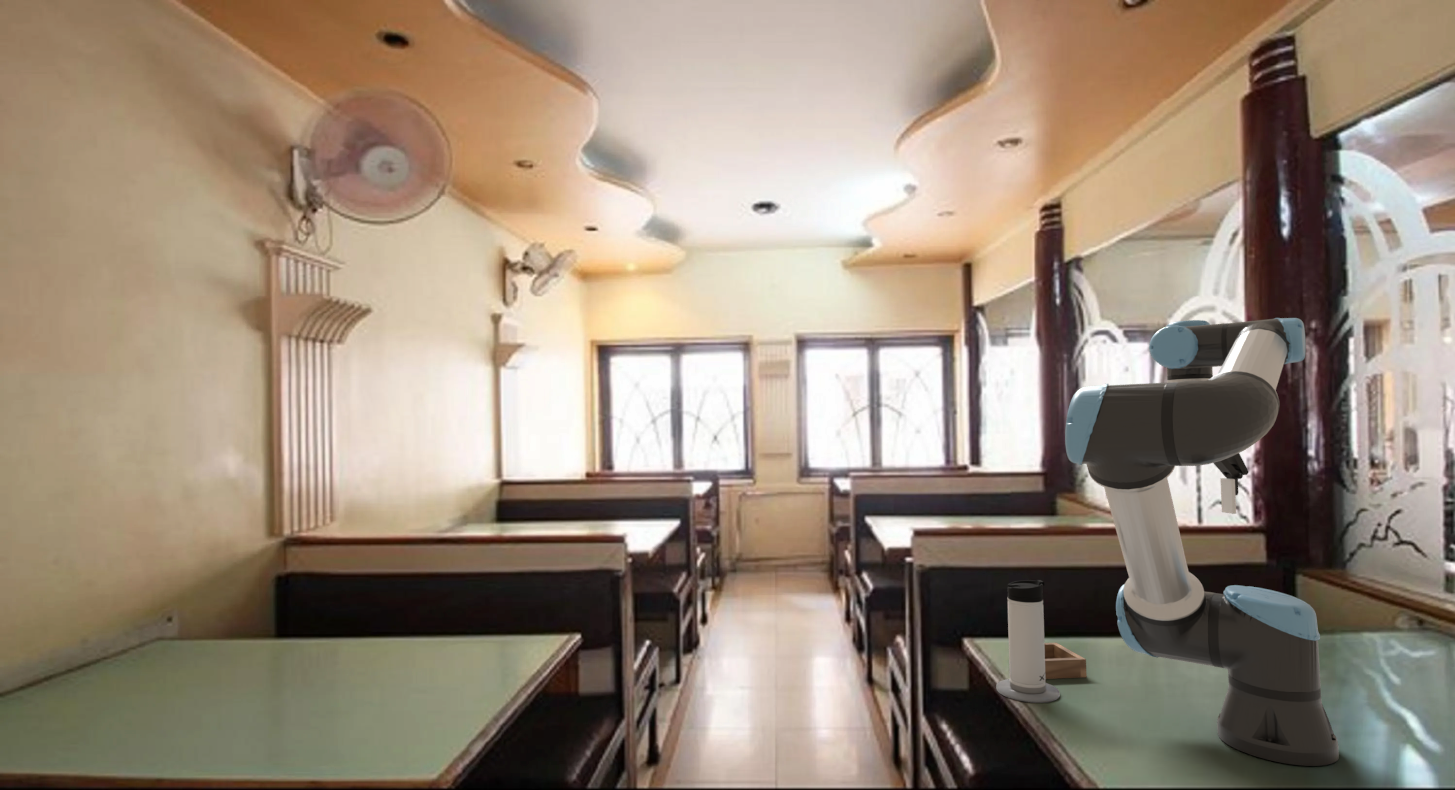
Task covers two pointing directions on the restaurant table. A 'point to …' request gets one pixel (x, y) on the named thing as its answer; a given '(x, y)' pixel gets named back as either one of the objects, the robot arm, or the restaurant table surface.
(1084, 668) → the brown open square frame
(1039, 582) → the travel mug
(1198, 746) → the restaurant table surface
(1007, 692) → the grey round disc
